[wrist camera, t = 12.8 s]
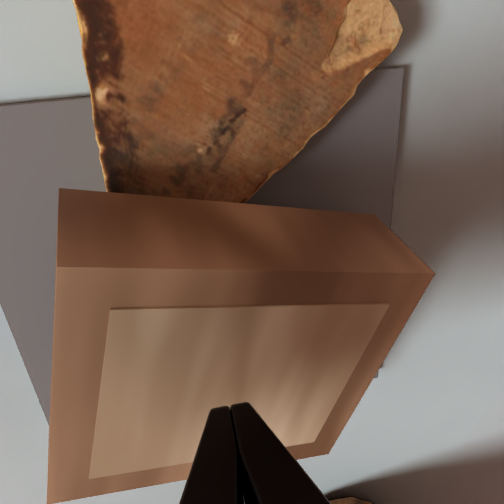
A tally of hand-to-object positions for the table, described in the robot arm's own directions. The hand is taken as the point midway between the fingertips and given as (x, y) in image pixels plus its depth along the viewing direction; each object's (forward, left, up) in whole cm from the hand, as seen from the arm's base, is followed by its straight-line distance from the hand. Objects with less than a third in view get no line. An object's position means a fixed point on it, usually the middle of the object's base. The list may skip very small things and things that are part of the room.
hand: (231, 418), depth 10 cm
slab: (-4, +2, -4) cm, 6 cm away
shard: (-2, -6, -6) cm, 9 cm away
